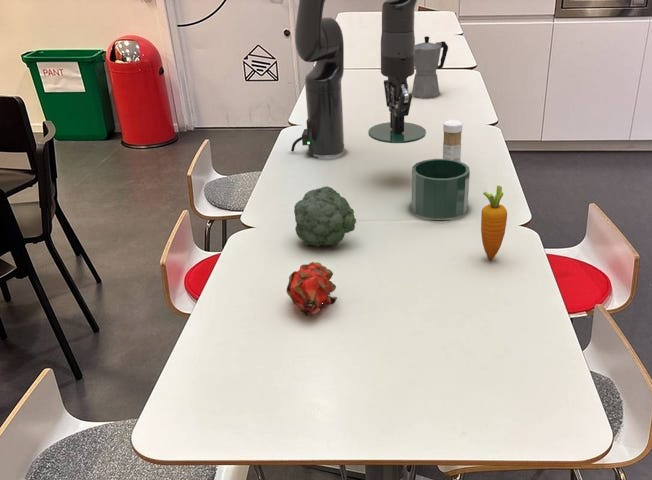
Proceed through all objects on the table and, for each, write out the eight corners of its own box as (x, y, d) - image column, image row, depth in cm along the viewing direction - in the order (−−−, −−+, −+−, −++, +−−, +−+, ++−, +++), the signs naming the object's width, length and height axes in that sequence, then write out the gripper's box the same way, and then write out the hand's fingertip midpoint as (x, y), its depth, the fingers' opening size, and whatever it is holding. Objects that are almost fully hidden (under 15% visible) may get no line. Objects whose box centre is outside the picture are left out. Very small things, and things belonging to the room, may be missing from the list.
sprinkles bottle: (455, 171, 179) (457, 118, 171) (462, 178, 175) (465, 123, 167) (438, 174, 177) (440, 120, 169) (446, 180, 174) (448, 126, 166)
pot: (410, 220, 156) (411, 179, 150) (412, 197, 166) (412, 158, 160) (468, 221, 155) (470, 180, 149) (465, 198, 165) (468, 158, 159)
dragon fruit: (319, 294, 133) (316, 337, 125) (280, 274, 130) (274, 316, 121) (344, 264, 128) (343, 307, 120) (304, 242, 125) (299, 284, 116)
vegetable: (376, 221, 150) (353, 218, 136) (335, 261, 155) (309, 262, 140) (340, 178, 151) (313, 171, 137) (300, 220, 155) (270, 217, 141)
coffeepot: (418, 101, 229) (419, 41, 218) (401, 94, 235) (401, 36, 224) (454, 93, 236) (457, 35, 225) (437, 87, 242) (438, 30, 232)
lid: (366, 145, 161) (365, 118, 157) (370, 126, 172) (370, 100, 168) (425, 146, 160) (426, 119, 157) (426, 126, 171) (427, 101, 168)
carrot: (487, 267, 138) (493, 195, 129) (473, 257, 141) (477, 186, 132) (508, 261, 139) (515, 189, 131) (493, 251, 143) (499, 181, 134)
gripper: (372, 46, 159) (373, 122, 170) (391, 60, 149) (391, 141, 159) (403, 43, 161) (402, 119, 172) (424, 57, 151) (422, 138, 161)
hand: (397, 129), depth 165 cm, fingers closed on lid, 2 cm apart
